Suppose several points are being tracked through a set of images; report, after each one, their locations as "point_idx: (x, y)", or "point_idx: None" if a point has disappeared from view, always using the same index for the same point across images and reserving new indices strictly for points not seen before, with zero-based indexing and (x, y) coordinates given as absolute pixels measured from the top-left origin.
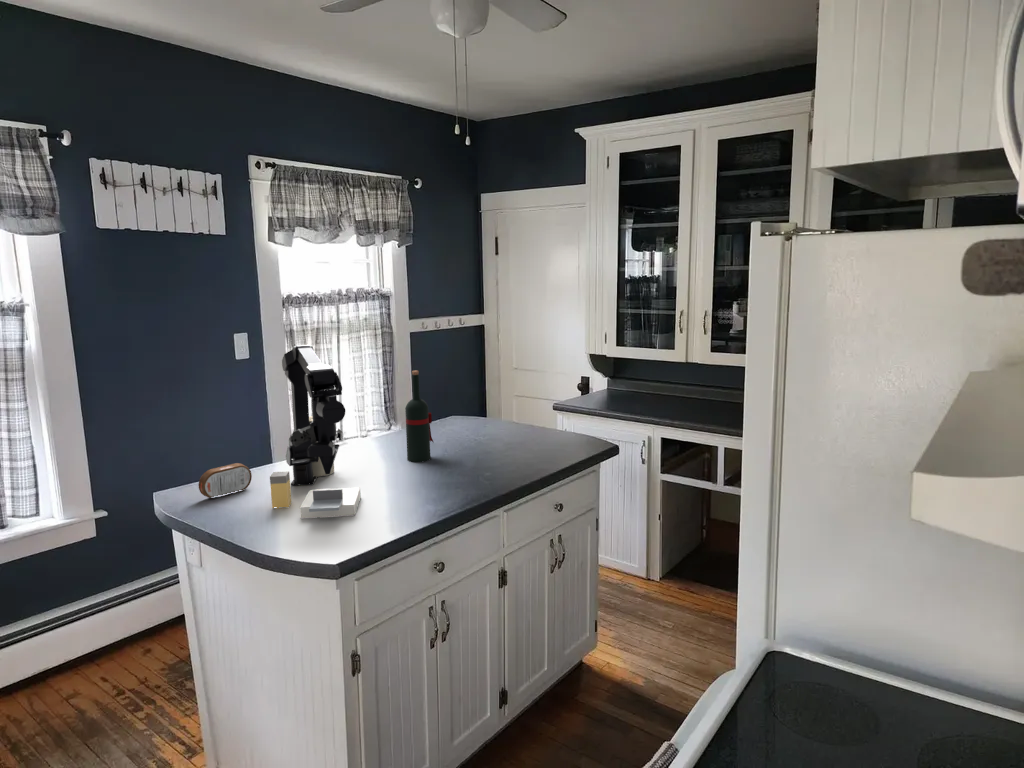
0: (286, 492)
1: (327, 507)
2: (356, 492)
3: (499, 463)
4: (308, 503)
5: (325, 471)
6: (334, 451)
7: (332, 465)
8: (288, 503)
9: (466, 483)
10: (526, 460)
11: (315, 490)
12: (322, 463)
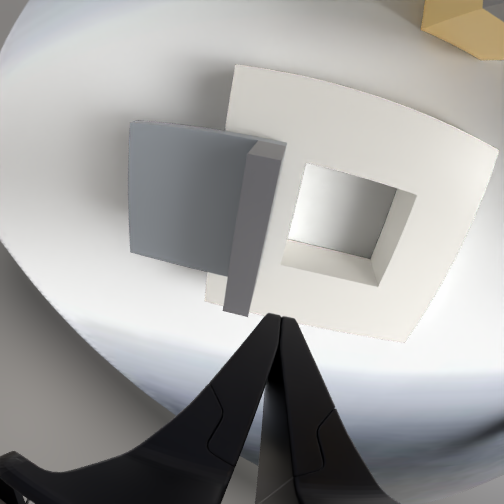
0: (453, 14)
1: (133, 208)
2: (355, 328)
3: (403, 479)
4: (289, 109)
5: (255, 330)
6: (21, 496)
7: (263, 408)
8: (435, 31)
9: None
10: (388, 490)
11: (253, 172)
12: (210, 387)
